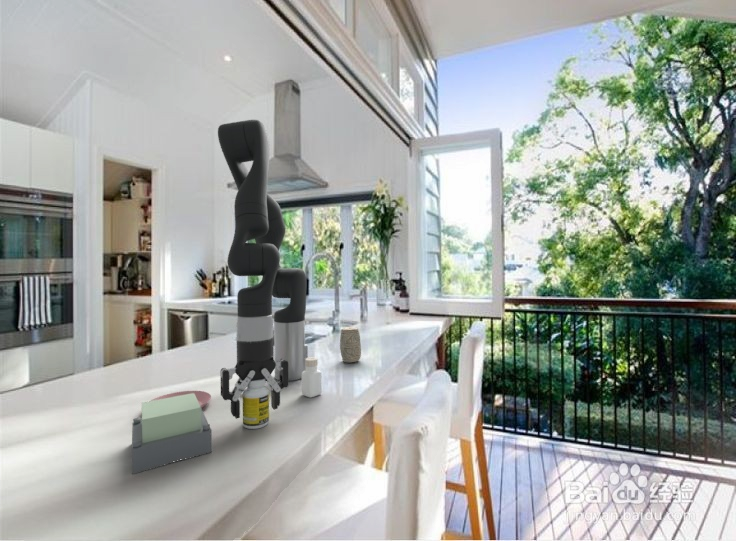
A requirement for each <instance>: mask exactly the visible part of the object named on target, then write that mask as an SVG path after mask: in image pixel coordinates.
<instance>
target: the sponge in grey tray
mask: <svg viewBox="0 0 736 541" xmlns="http://www.w3.org/2000/svg"><path fill="white" fill-rule="evenodd" d="M152 400H153V399H152ZM132 420H133V422H132V428H131V429H132V430H131V474H132V475H133V474H137V473H141V471H142V472H145V470H146V471H148V469H149V470H151V469H150V468H153V469H155V468H154V467H156V468H159V467H158V466H160V467H162V466H161V465H164V464H167V465H169V464H168V463H171V462H173V461H177V460H180V459H185V458H189V459H191V458H190V457H192V458H194V457H193V456H196V457H198V456H197V455H200V456H203V455H206V453H207V454H209V453H212V451H213V446H212V445H213V443H212V441H213V440H212V439H213V438H212V437H213V436H212V428H211V425H210V424H211V423H209V422H208V420H207V417H206V415H205V413H204V411H203V408H202V409H201V406H200V404H199V402H198V400H197V398H196V396H195V394H194V393H191V394H186V395H180V396H175V397H170V398H164V399H159V400H153V401H151V400H148V401H144V402H141V417H135V418H133V419H132ZM185 460H186V459H185ZM171 464H172V463H171ZM164 466H165V465H164Z"/></svg>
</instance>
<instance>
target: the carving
mask: <svg viewBox="0 0 736 541" xmlns="http://www.w3.org/2000/svg"><path fill="white" fill-rule="evenodd" d="M339 349H340V356H341V358H342V361H343V362H344V363H348V364H349V363H350V364H351V363H355V362H358V361H360V359H361V358H362V357H361V356H362V345H361V335H360V330H359V328H358V327H353V326H345V327H342V328H341V329H340V338H339Z"/></svg>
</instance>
